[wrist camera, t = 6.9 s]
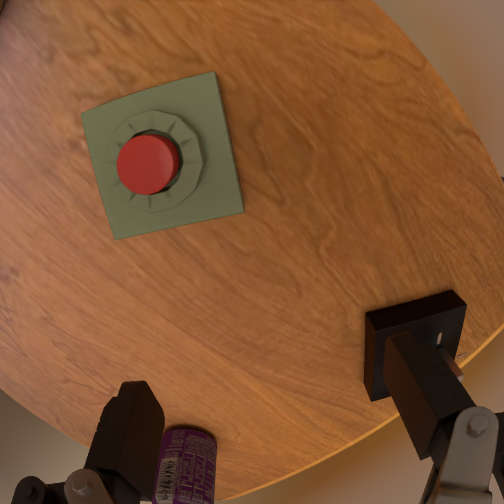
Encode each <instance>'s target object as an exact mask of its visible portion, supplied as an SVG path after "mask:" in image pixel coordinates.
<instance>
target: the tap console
mask: <svg viewBox="0 0 504 504" xmlns="http://www.w3.org/2000/svg"><path fill="white" fill-rule="evenodd" d="M466 307H467V304H466V303H465V302H464V301H463V300H462V299H461V298H460V297H459V296H458V295H457V294H456V293H455V292H454V291H453V290H449V291H446V292H443V293H439V294H436V295H432V296H429V297H425V298H422V299H418V300H414V301H411V302H407V303H403V304H399V305H395V306H392V307H388V308H384V309H380V310H375V311H371V312H367V313H366V335H365V368H364V385H365V388H366V390H367V393H368V395H369V398H370V401H371V402H373V401H376V400H380V399H383V398H387V397H390V396H391V395H390V392H389V390H388V388H387V386H386V383H385V380H384V374H383V367H384V356H385V343H386V339H387V337H390V336H394V335H397V334H400V333H404V332H407V331H408V332H410V333H411V334H412V336H413V337H414V338H415V340H416V341H417V343H418V344H420V343H423V342H427V343H428V344H430V345H431V346H433V347H434V348H436V349H438V348H441V347H445V349H446V350H447V351H448V353H449V354H450V356H451V357H452V358H453V360H455V356H456V352H457V348H458V344H459V340H460V336H461V331H462V327H463V322H464V317H465V312H466ZM466 355H467V352H465V353H463V354H460V355H458V356H457V359H458V358H461V357H463V356H466Z"/></svg>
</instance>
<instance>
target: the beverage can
mask: <svg viewBox="0 0 504 504" xmlns="http://www.w3.org/2000/svg"><path fill="white" fill-rule="evenodd" d="M216 456H217V444H216V442H215V440H214V439H213V438H212V437H210V436H209V435H207V434H205V433H202V432H199V431H195V430H190V429H174V430H170V431H168V432H166V433H165V434H164V435H163V437H162V442H161V448H160V454H159V460H158V466H157V472H156V479H155V486H154V492H153V499H152V504H214V492H215V473H216Z"/></svg>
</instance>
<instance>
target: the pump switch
mask: <svg viewBox="0 0 504 504" xmlns="http://www.w3.org/2000/svg"><path fill="white" fill-rule="evenodd" d="M81 117H82V122H83V127H84V131H85V136H86V140H87V144H88V149H89V153H90V157H91V161H92V165H93V169H94V172H95V176H96V180H97V183H98V187H99V191H100V194H101V197H102V201H103V204H104V208H105V211H106V214H107V217H108V220H109V224H110V227H111V230H112V233H113V236H114V239H115V240H119V239H124V238H128V237H132V236H137V235H141V234H146V233H150V232H154V231H159V230H164V229H168V228H173V227H177V226H182V225H187V224H191V223H196V222H201V221H206V220H211V219H216V218H220V217H225V216H230V215H236V214H241V213H244V212H245V211H244V200H243V195H242V190H241V185H240V180H239V176H238V171H237V166H236V161H235V157H234V152H233V147H232V142H231V137H230V133H229V128H228V123H227V118H226V114H225V109H224V104H223V99H222V95H221V90H220V85H219V80H218V76H217V74H216V73H215V71H213V72H208V73H204V74H200V75H195V76H191V77H187V78H184V79H180V80H176V81H173V82H169V83H165V84H162V85H159V86H155V87H152V88H149V89H146V90H142V91H139V92H136V93H133V94H130V95H127V96H125V97H122V98H119V99H116V100H113V101H111V102H108V103H105V104H103V105H100V106H98V107H95V108H92V109H90V110H88V111H85V112H83V113H81ZM147 134H158V135H162V136H164V137H166V138H168V139H169V140H170V141H171V142H172V143H173V144H174V146H175V147H176V149H177V151H178V155H179V168H178V171H177V173H176V175H175V177H174V178H173V180H172V181H171V182H170V183H169V184H167V185H166V186H165V187H164V188H163V189H161V190H160V191H158V192H156V193H153V194H149V195H141V194H137V193H134V192H132V191H130V190H129V189H128V188H127V187H126V186H125V185H124V184H123V183H122V181H121V180H120V178H119V175H118V172H117V158H118V155H119V152H120V150H121V149H122V147H123V146H124V145H125V144H126V143H127V142H128V141H129V140H130V139H132V138H134V137H137V136H141V135H147Z"/></svg>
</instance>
